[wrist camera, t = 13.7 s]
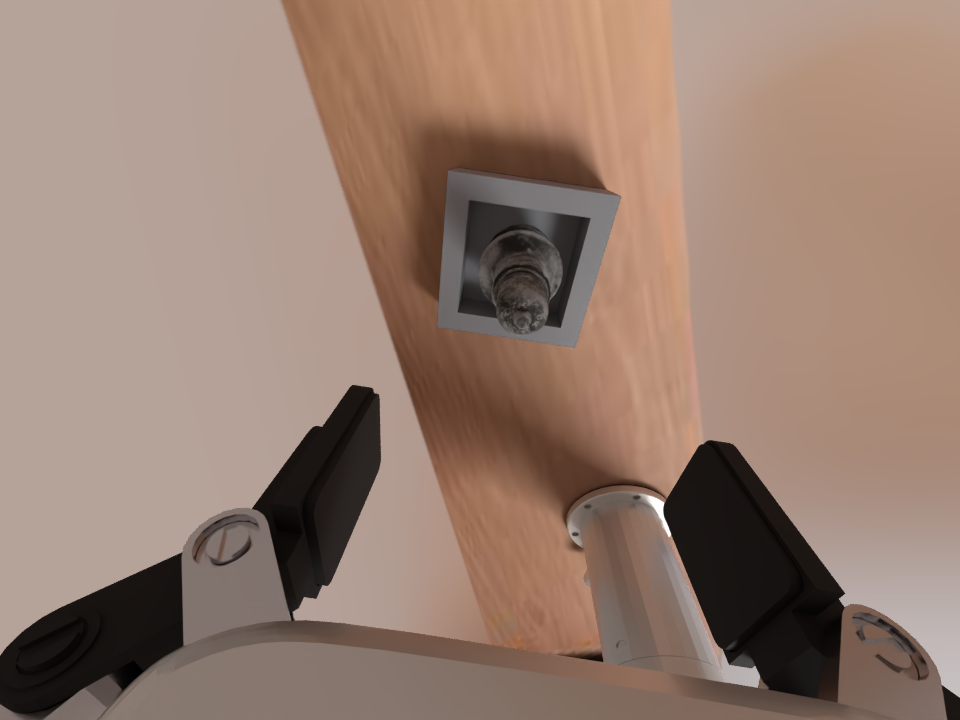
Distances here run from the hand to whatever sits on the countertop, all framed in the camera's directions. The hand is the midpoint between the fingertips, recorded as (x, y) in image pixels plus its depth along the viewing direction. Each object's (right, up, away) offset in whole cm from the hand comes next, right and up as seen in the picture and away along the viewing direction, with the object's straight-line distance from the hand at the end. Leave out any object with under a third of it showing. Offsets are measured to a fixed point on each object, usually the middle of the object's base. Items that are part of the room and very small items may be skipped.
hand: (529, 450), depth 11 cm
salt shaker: (+2, +11, +18) cm, 21 cm away
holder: (+2, +11, +18) cm, 21 cm away
